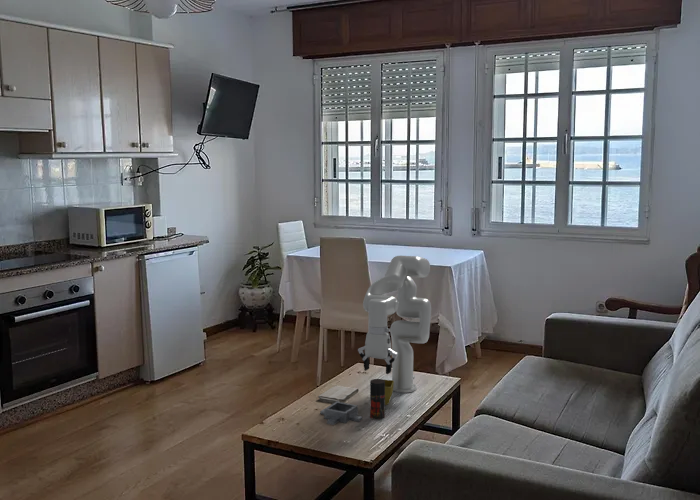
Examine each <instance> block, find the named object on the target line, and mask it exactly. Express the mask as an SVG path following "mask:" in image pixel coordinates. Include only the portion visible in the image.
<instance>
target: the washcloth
mask: <svg viewBox="0 0 700 500" xmlns="http://www.w3.org/2000/svg"><path fill="white" fill-rule="evenodd" d="M357 394H359V388H357V387H348V386H343V385H334V386H332V387H331V388H329V389H328V390H326V391H324V392H323V393H320V394H319V395H318V396H317V398H318V401H320V402H323V403H329V404H330V403H331V404H333V403H335V402H336V401H337V402H343V403H347V401H349V400H350V399H352V398H353V397H354V396H356V395H357Z"/></svg>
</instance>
